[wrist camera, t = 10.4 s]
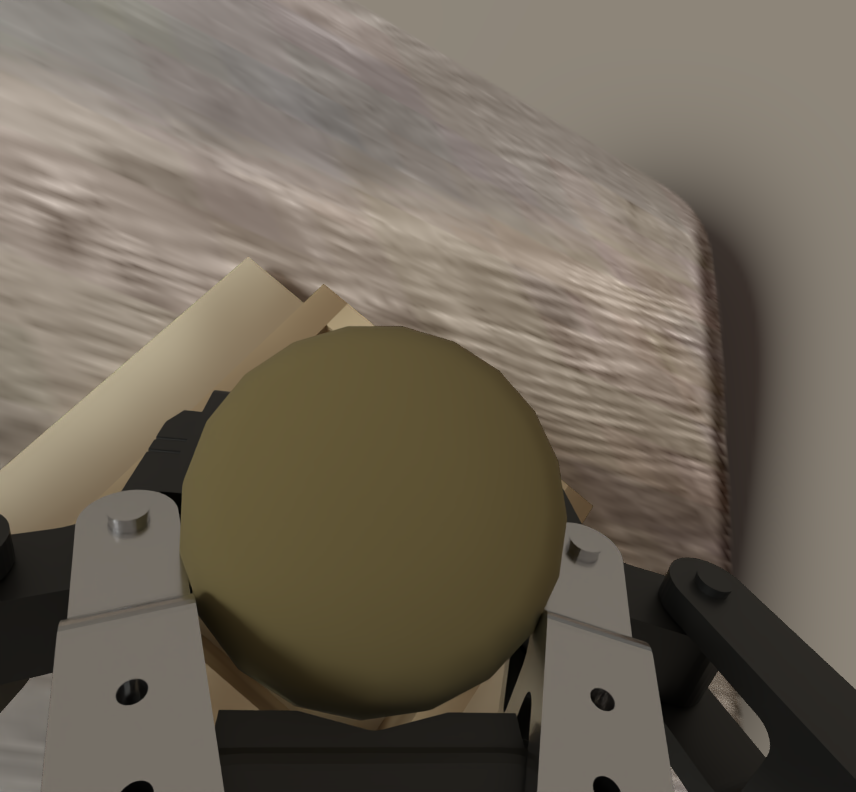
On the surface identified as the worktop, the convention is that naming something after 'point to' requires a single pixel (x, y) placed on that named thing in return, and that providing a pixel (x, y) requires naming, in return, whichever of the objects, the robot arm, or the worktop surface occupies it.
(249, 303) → the stand
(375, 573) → the cork
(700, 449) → the worktop surface
